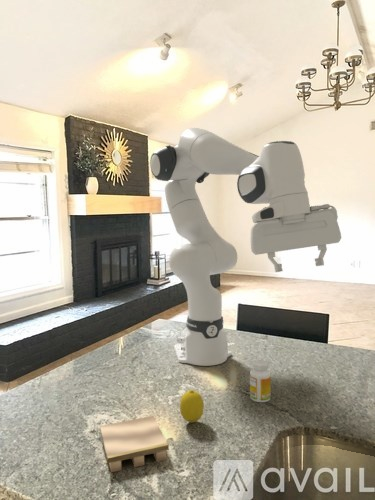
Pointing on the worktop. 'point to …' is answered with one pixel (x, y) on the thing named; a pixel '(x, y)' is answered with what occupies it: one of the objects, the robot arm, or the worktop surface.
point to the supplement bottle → (260, 381)
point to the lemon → (191, 406)
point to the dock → (133, 441)
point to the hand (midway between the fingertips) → (299, 268)
